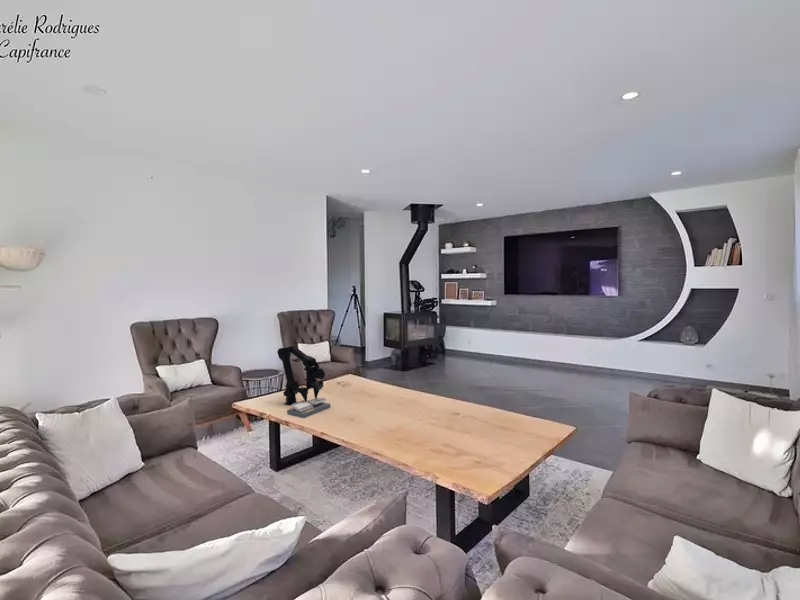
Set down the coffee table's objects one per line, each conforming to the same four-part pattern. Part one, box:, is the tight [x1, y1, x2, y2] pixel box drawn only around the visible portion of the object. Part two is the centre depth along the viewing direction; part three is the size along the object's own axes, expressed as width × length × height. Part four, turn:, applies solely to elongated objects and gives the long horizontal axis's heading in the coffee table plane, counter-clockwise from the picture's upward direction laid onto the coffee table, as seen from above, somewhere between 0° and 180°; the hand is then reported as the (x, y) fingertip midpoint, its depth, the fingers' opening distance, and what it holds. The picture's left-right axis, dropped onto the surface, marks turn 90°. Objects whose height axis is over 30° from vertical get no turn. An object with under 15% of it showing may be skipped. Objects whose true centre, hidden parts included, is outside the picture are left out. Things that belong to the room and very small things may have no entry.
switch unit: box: [286, 401, 331, 419], centre depth 264 cm, size 15×24×4 cm, turn 148°
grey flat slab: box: [290, 399, 313, 412], centre depth 259 cm, size 9×10×2 cm
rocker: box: [307, 397, 327, 405], centre depth 269 cm, size 9×10×2 cm
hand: (311, 400), depth 271 cm, fingers open, 9 cm apart
